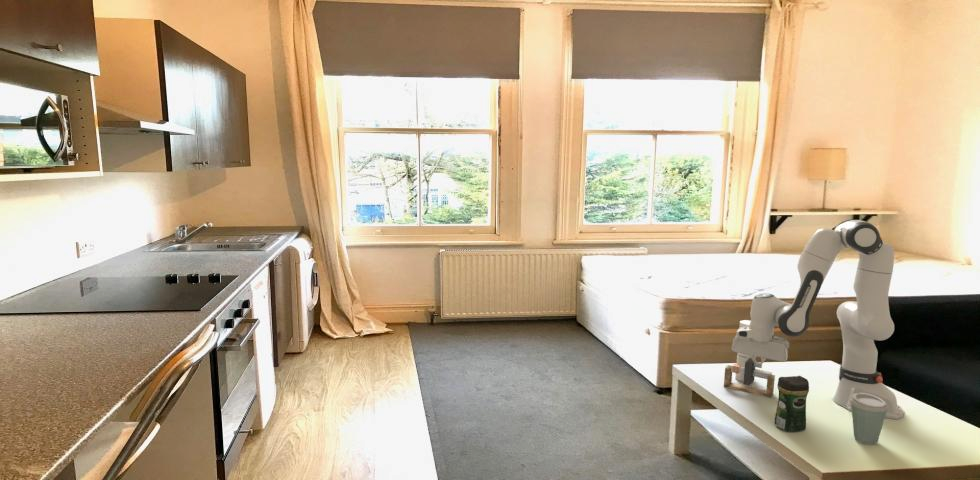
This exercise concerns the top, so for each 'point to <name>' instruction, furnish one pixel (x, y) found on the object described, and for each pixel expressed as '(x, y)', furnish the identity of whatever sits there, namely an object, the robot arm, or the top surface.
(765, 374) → the light grey long bar
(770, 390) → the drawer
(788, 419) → the coffee jar
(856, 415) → the disposable coffee cup
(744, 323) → the cylindrical container
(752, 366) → the collar
